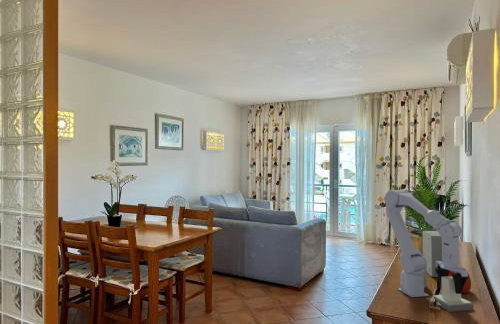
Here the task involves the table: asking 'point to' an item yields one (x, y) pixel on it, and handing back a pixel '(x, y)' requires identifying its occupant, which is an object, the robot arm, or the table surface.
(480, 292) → the table surface
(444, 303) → the tray
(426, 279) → the box
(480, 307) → the table surface
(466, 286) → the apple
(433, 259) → the hard drive box
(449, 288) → the carton
